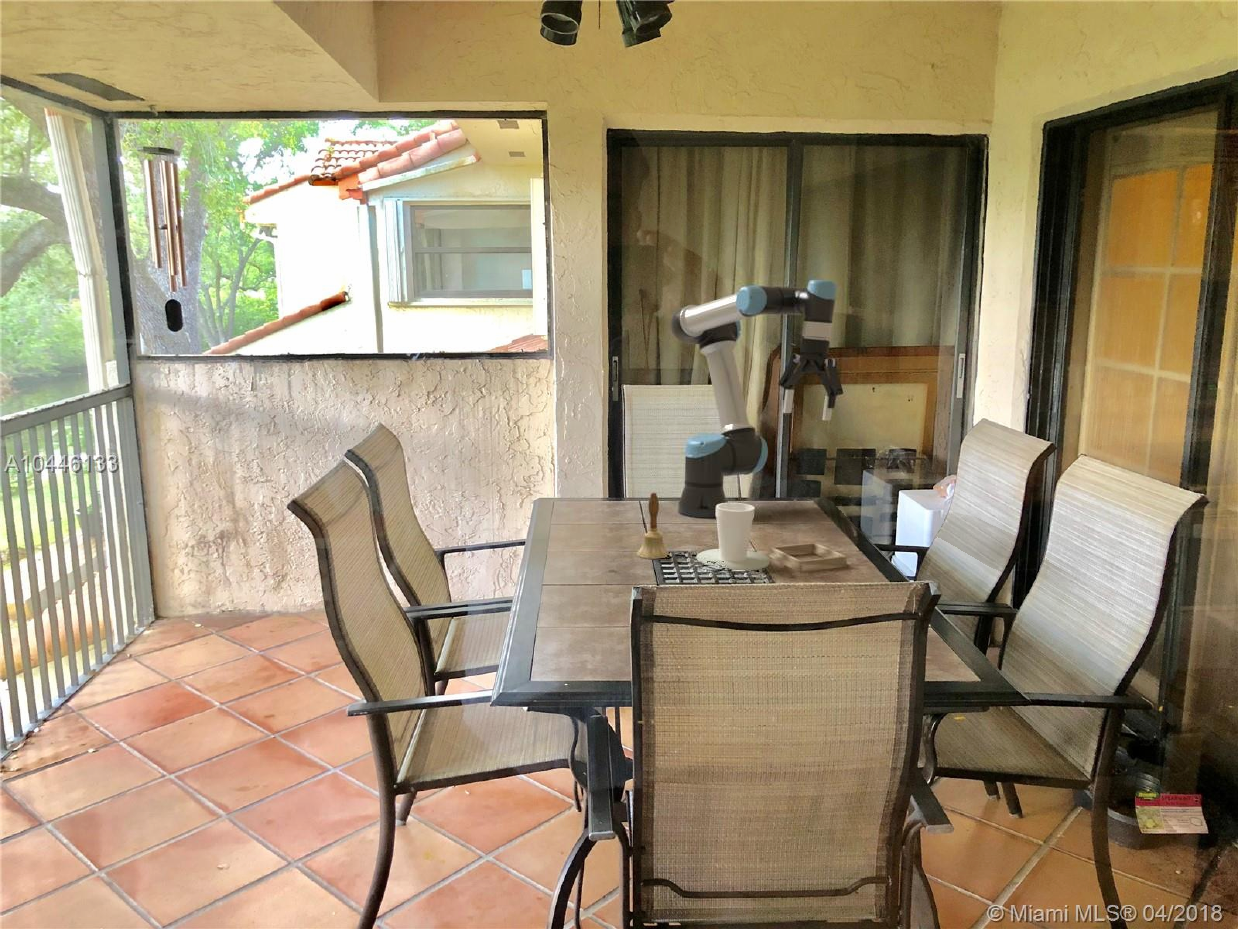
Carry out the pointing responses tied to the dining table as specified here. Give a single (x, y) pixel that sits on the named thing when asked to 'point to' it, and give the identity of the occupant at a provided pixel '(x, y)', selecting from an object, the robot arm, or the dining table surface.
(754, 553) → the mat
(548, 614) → the dining table surface
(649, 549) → the hand bell
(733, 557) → the foam cup
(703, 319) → the robot arm
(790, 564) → the cup socket
